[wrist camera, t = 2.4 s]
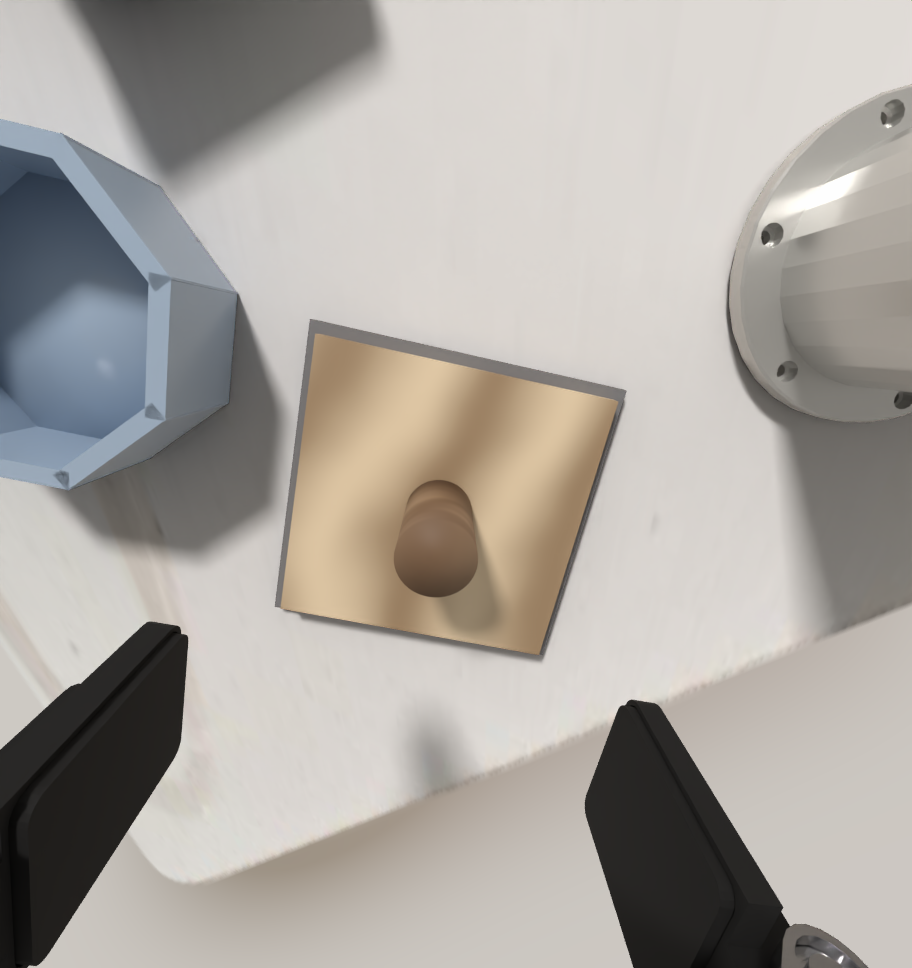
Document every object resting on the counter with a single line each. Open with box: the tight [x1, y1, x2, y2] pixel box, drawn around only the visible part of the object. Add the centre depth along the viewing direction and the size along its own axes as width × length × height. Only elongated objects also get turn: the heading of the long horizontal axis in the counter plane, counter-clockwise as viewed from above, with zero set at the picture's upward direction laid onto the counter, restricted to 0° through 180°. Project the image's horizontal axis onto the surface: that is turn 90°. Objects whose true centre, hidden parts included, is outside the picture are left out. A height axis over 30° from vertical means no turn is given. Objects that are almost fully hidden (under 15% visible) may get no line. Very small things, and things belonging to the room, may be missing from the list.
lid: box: [280, 334, 618, 655], centre depth 20 cm, size 13×13×6 cm
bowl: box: [0, 119, 238, 490], centre depth 18 cm, size 11×12×5 cm
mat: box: [275, 319, 626, 655], centre depth 23 cm, size 14×14×1 cm
